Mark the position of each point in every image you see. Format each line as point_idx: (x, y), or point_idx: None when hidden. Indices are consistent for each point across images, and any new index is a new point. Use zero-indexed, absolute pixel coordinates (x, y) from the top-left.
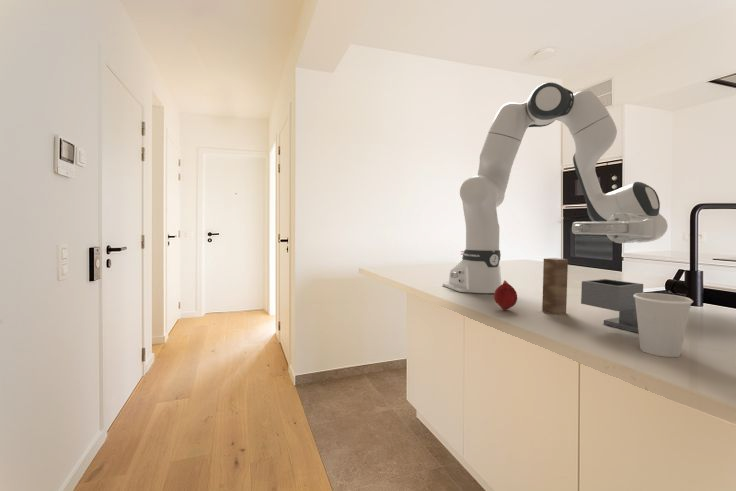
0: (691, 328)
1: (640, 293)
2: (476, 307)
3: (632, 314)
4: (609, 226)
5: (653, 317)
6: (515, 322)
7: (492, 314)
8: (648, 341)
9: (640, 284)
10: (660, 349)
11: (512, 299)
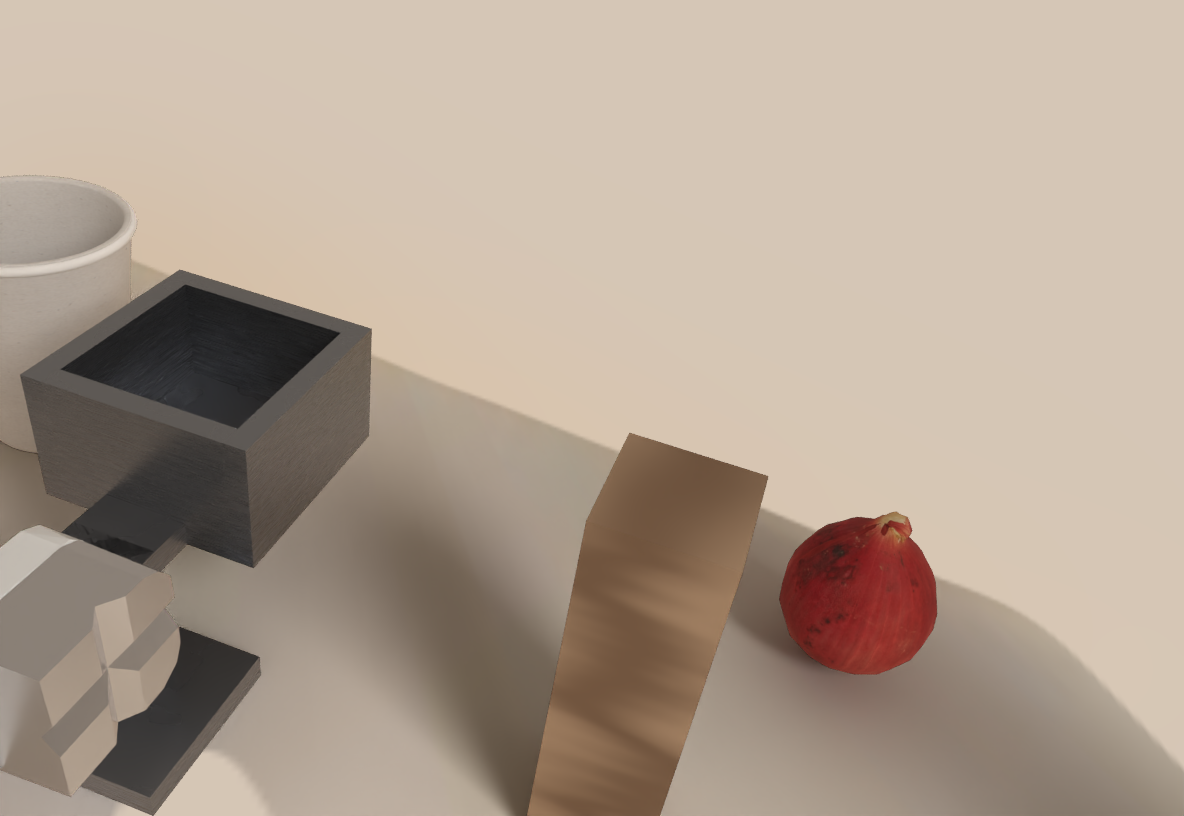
0: None
1: (97, 246)
2: (970, 625)
3: None
4: (116, 555)
5: (83, 249)
6: None
7: (799, 543)
8: None
9: (43, 359)
10: None
11: (786, 570)
